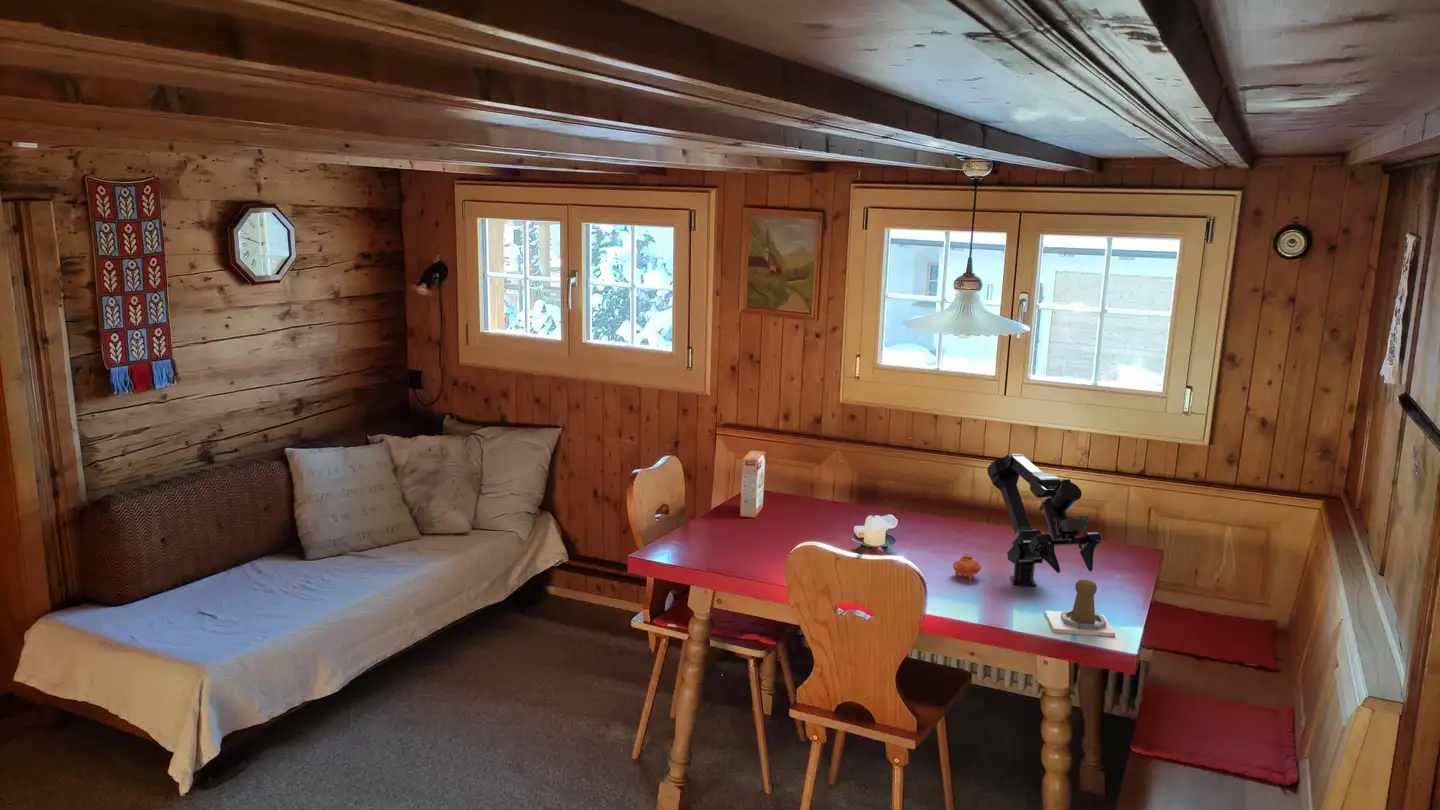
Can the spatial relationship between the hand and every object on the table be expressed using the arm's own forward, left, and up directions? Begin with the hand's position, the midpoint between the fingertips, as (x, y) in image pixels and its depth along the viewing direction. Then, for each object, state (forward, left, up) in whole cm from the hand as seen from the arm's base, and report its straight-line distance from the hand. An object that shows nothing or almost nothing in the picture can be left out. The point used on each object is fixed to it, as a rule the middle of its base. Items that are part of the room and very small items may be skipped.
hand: (1075, 571), depth 259 cm
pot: (-25, -24, -13) cm, 37 cm away
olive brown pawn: (+5, +2, -12) cm, 13 cm away
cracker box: (-77, -92, -13) cm, 121 cm away
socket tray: (+6, +1, -12) cm, 14 cm away
